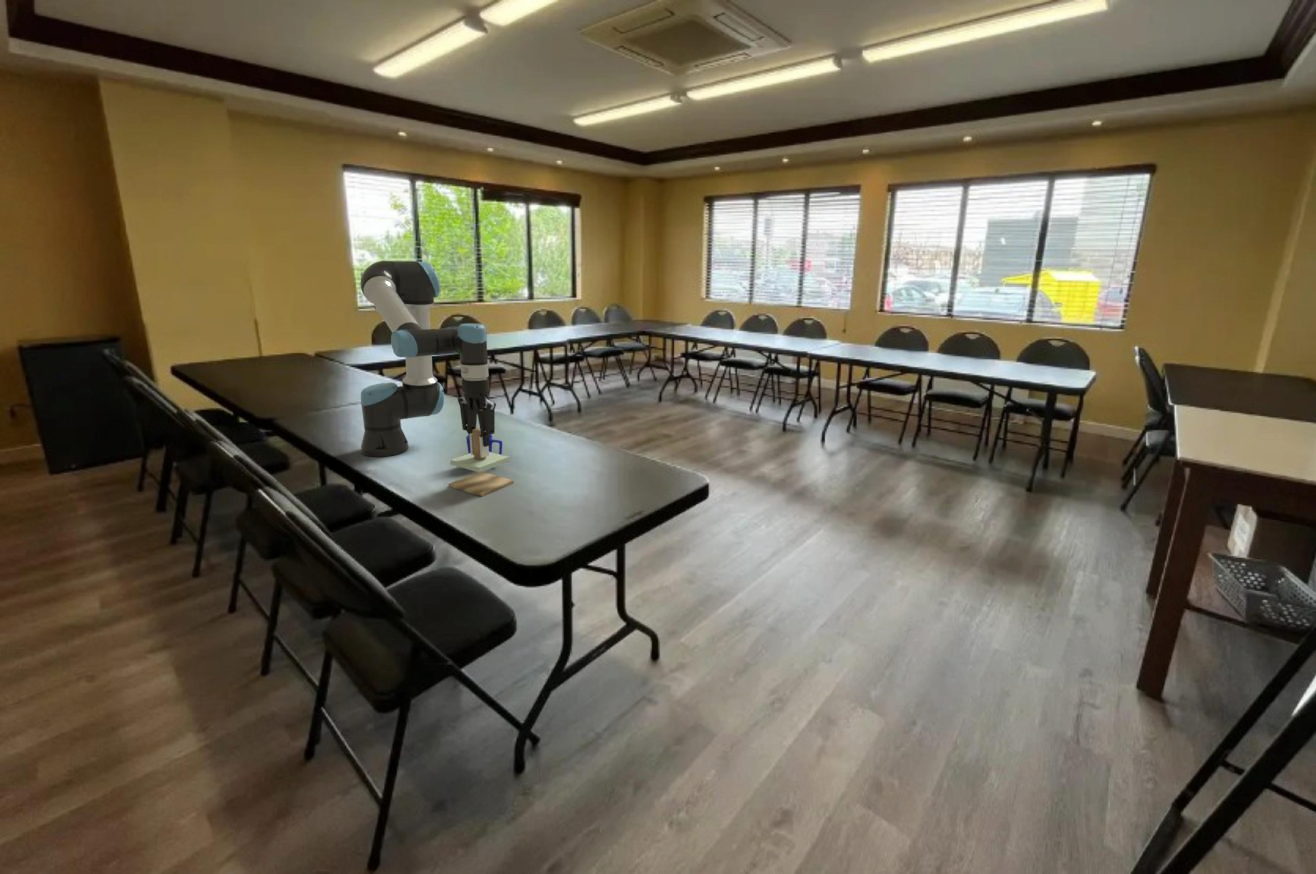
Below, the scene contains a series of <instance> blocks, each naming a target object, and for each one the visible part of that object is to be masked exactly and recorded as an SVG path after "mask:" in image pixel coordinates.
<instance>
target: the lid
mask: <svg viewBox="0 0 1316 874" xmlns="http://www.w3.org/2000/svg"><path fill="white" fill-rule="evenodd" d="M472 432H473V447H474V455H471V453H470V454H469V453H467V454H464V455H461V456H458V457H455V458H451V459H450V461H449V462H450V465H451V466H455V467H458V468H462V469H466V470H468V471H472V472H476V473H478V472H479V473H480V472H485V471H488V470H490V469H493V468H495V467H499V466H501V465H504V464H507V463H509V462H510V456H508V455H503V454H502V455H500V454H499V453H495V452H493V451H492V452H489V455H488V456H486V457H483V458H482V457H480V441H479V435H481V431H480V427H476V428H475V429H473V430H472Z"/></svg>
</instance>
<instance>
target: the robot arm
mask: <svg viewBox="0 0 1316 874" xmlns="http://www.w3.org/2000/svg"><path fill="white" fill-rule="evenodd" d="M360 277H361V278H360V283H359V285H360V289H361V292H362V294H363V296H364V298H366V300H367V301H368V302H369V303H371V304H373V305H374V307H375V308H376V310H377V311H378V312H379V314H380V316H381V318H383V320H384V322H385V323H386V325H387V327H388V328H389V330H390V331H391V334H390V335H391V336H390V342H391V349H392V351H393V353H394V355H395V356H396V357H397V358H405V370H406V371H405V372H406V376H404V377H403V378H402V380H401V381H402V385H401V386H398V385H397V384H396V383H395V382H382V383H381V382H380V383H375V384H372V385H369V386H367V387H365V388H363V389H362V390H361V391H360V405H361V413H362V421H363V428H364V431H363V437H362V441H361V445H360V450H361V454H362V455H364V456H365V457H366V456H367V457H372V458H373V457H377V458H378V457H380V458H383V457H390V456H391V457H392V456H396V455H400V454H403V453H405V452H407V451H408V450H409V442H408V440H407V439H408V438H407V437H406V434H405V433H404V431H403V429H402V423H401V421H402V420H406V419H407V420H409V419H413V418H420V417H421V418H422V417H429V416H433V415H438V414H439V413H440V412H441V411H442V410H443V407H444V404H445V392H444V388H443V386H442V384H441V383H440V382H438V378H436V377H435V375H433V358H432V356H442V355H443V356H444V355H445V356H446V355H454V354H456V355H459V359H460V361H459V362H460V371H461V372H460V374H461V378H462V379H461V391H462V392H463V393H464V395H463V396H460V397H458V398H457V402H458V404H459V410H460V418H461V426H462V430H463V431H466V432H467V434H468V435H469V443H470V450H471V455H474V447H473V432H472V430H473V429H475V428H477V421H478V424H479V428H480V431H481V435H479V441H480V457H482V458H483V457H486V456H488V455H489V445H490V442H489V435H494V434H495V432H496V431H495V430H496V429H495V428H496V426H495V424H496V423H495V421H496V418H495V417H496V415H495V409H496V406H497V403H496V402H495V401H493V402H492V401H490V399H489V395H488V392H489V391H490V380H489V378H488V377H489V376H490V375H489V363H488V336H487V329H486V326H485V325H484V324H481V323H461V324H459V325H458V326H449V327H446V328H431V314H430V313H431V312H430V311H431V310H430V308H432V306H433V305H434V304H435V300H434V299H436V298H438V297H439V296H440V292H441V285H440V279H439V276H438V274H437V271H436V270H435V267H434V266H433V265H432V264H430V263H428V262H424V261H415V260H414V261H413V260H409V261H407V260H380V261H376V262H373V263H372V264H371V265H369V266H368V267H366V269H365V270H364V271H363V272H362V276H360ZM468 435H467V436H468Z"/></svg>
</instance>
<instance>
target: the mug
mask: <svg viewBox="0 0 1316 874" xmlns="http://www.w3.org/2000/svg"><path fill="white" fill-rule="evenodd" d="M465 439H466V446H467V451H468V453H467V454H470V453H471V450H470V443H469V435H467V436H466V437H465ZM489 442H490V445H489V452H492V453H493V443H498V444H499V447H498V454H500V455H503V441H502V440H499V439H493V434H491V435H489Z"/></svg>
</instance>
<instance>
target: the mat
mask: <svg viewBox="0 0 1316 874" xmlns="http://www.w3.org/2000/svg"><path fill="white" fill-rule="evenodd" d="M514 481H515V480H512V479H509V478H506V477H502V476H498V475H495V474H492V473H489V472H485V471H482V472H480V473H479V472H476V473H473V474H470V475H468V476H465V477H462V478H460V479H458V480H455V481H452V482H450V483H448V487H451V488H453V489H457V490H460V491H463V492H465V493H469V494H473V495H475V496H478V497H479V496H480V497H484V496H487V495H489V494H491V493H494V492H496V491H498V490H501V489H503V488H505V487H508V486H510V485H513V484H514Z"/></svg>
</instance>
